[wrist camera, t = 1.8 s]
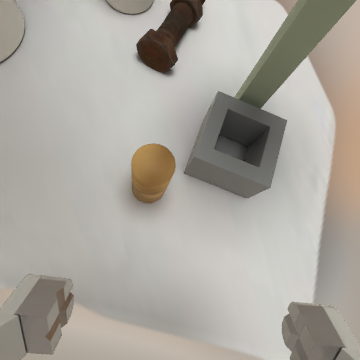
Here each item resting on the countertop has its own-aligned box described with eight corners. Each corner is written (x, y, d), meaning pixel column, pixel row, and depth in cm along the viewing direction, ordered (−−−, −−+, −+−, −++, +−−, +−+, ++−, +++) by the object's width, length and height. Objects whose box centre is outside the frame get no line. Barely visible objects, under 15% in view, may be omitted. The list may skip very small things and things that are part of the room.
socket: (183, 172, 33) (194, 156, 27) (205, 116, 36) (218, 91, 30) (247, 198, 34) (270, 187, 28) (263, 140, 36) (287, 120, 31)
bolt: (196, 15, 43) (156, 78, 38) (176, -12, 41) (129, 51, 35) (221, -6, 38) (179, 62, 33) (200, -38, 36) (151, 30, 31)
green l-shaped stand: (184, 161, 34) (436, -293, 6) (211, 89, 37) (445, -401, 9) (253, 189, 34) (795, -90, 6) (273, 116, 38) (670, -268, 10)
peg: (127, 195, 31) (124, 175, 23) (139, 167, 32) (141, 137, 24) (157, 207, 31) (166, 191, 23) (169, 178, 33) (181, 153, 24)
